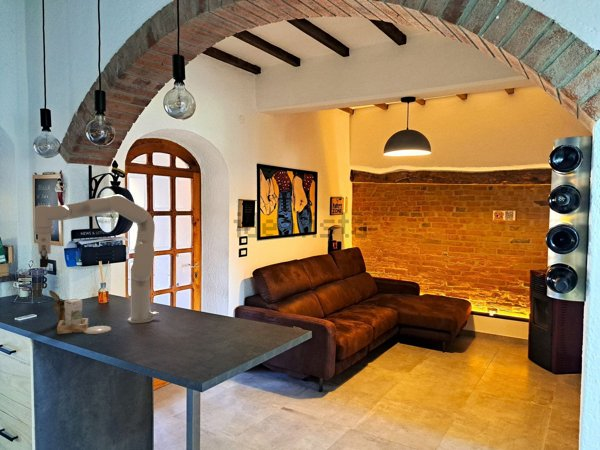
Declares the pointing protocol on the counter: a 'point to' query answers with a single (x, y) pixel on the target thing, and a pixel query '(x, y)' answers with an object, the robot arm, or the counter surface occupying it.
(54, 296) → the wooden mug
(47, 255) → the robot arm
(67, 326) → the oak collar
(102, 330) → the cream shiny round part
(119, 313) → the counter surface
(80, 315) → the syrup box
